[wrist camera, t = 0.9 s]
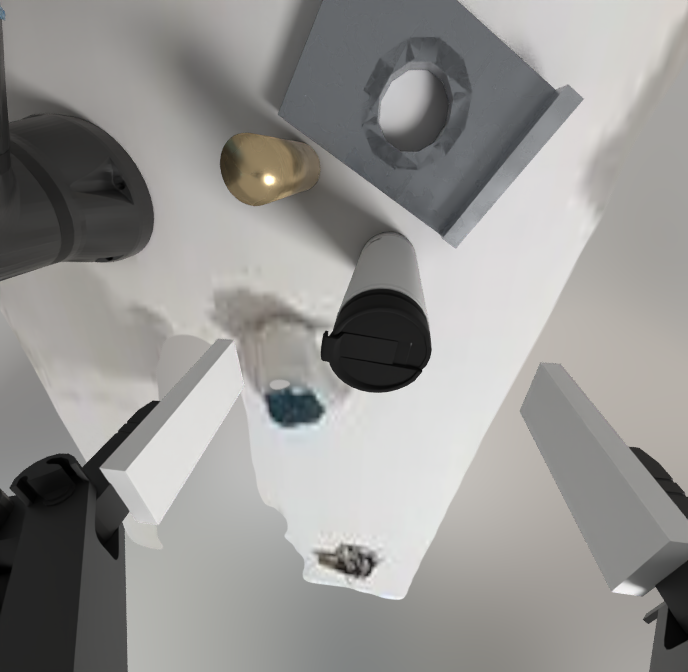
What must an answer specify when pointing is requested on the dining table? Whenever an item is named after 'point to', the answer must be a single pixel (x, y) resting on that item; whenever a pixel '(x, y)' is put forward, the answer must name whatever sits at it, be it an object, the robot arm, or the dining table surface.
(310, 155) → the gold metal cylinder
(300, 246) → the dining table surface
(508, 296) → the dining table surface
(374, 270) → the travel mug
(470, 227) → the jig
